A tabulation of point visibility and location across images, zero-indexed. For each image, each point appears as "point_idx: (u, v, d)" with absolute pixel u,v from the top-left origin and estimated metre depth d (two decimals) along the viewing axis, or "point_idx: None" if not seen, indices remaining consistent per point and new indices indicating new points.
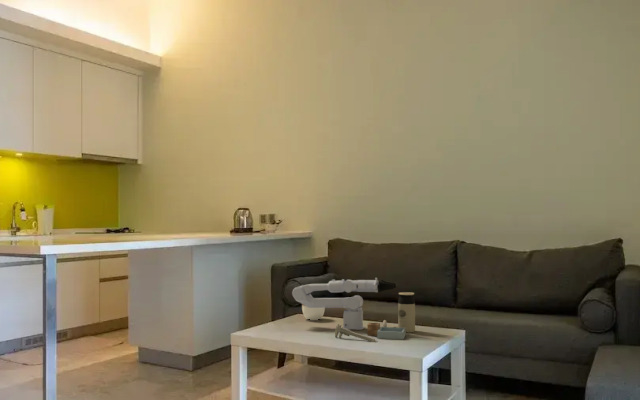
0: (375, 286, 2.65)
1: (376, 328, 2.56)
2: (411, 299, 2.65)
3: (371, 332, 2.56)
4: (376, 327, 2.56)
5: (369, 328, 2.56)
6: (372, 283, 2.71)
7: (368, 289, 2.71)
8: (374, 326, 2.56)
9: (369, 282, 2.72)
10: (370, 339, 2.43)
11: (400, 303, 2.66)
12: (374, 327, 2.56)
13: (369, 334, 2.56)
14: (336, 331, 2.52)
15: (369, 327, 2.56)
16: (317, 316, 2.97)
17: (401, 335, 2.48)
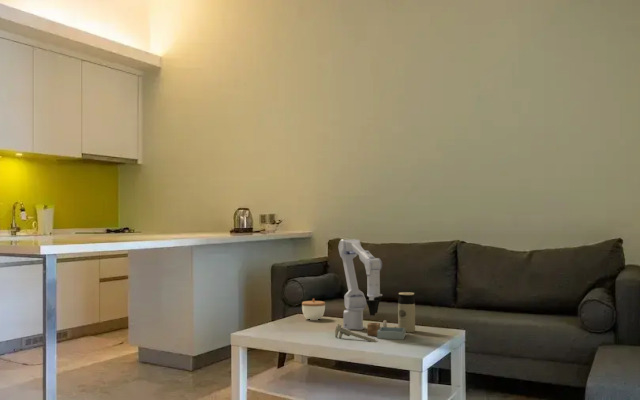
0: (371, 298, 2.52)
1: (376, 328, 2.56)
2: (411, 299, 2.65)
3: (371, 332, 2.56)
4: (376, 327, 2.56)
5: (369, 328, 2.56)
6: (375, 292, 2.57)
7: (369, 287, 2.57)
8: (374, 326, 2.56)
9: (376, 288, 2.57)
10: (370, 339, 2.43)
11: (400, 303, 2.66)
12: (374, 327, 2.56)
13: (369, 334, 2.56)
14: (336, 331, 2.52)
15: (369, 327, 2.56)
16: (317, 316, 2.97)
17: (401, 335, 2.48)
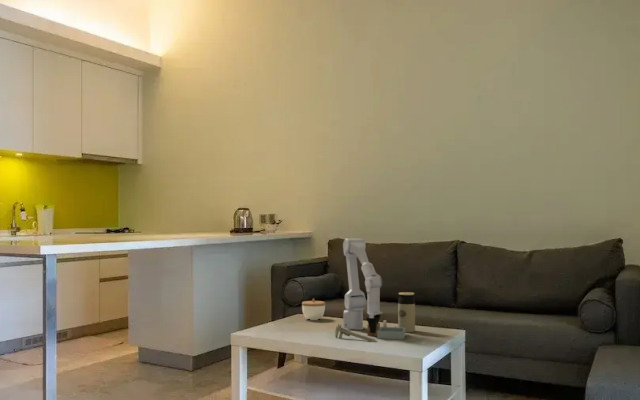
0: (371, 316, 2.52)
1: (376, 328, 2.56)
2: (411, 299, 2.65)
3: None
4: (376, 327, 2.56)
5: (369, 328, 2.56)
6: (375, 309, 2.56)
7: (369, 305, 2.57)
8: None
9: (376, 306, 2.56)
10: (370, 339, 2.43)
11: (400, 303, 2.66)
12: None
13: (369, 334, 2.56)
14: (336, 331, 2.51)
15: None
16: (317, 316, 2.97)
17: (401, 335, 2.48)
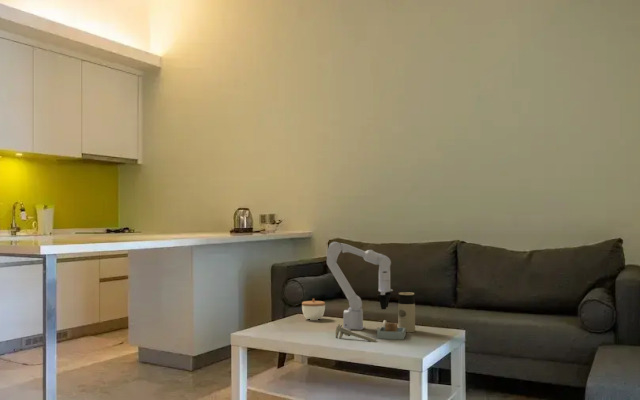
0: (383, 293, 2.68)
1: (394, 328, 2.52)
2: (411, 299, 2.65)
3: None
4: (394, 327, 2.52)
5: (387, 328, 2.52)
6: (386, 287, 2.72)
7: (380, 283, 2.73)
8: (392, 326, 2.52)
9: (387, 284, 2.73)
10: (371, 339, 2.43)
11: (400, 303, 2.66)
12: (392, 327, 2.52)
13: None
14: (337, 331, 2.51)
15: (387, 327, 2.52)
16: (317, 316, 2.97)
17: (401, 335, 2.48)
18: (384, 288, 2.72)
